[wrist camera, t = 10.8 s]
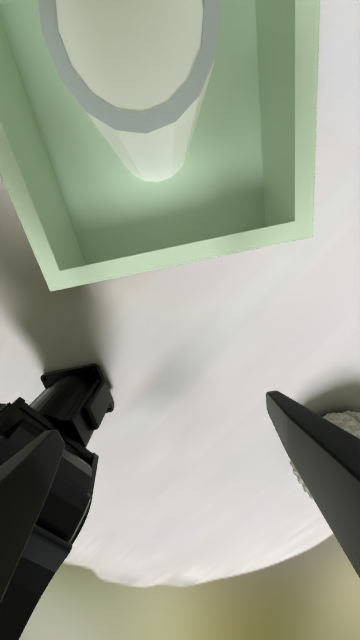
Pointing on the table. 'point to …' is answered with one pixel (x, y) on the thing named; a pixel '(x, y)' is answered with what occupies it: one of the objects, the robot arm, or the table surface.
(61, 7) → the shot glass
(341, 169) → the table surface
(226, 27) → the bin
